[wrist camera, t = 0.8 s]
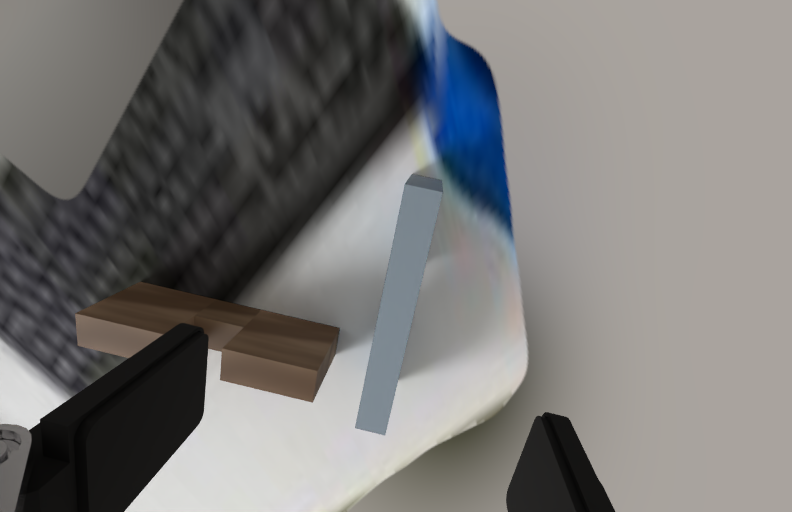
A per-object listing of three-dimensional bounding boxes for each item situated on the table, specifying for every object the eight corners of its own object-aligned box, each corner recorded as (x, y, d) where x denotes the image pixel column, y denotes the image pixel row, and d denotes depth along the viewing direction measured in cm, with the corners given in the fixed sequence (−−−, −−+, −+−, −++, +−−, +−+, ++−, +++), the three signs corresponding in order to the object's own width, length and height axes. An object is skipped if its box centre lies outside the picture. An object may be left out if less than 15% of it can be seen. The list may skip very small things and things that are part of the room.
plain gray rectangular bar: (412, 174, 31) (404, 184, 25) (441, 180, 31) (442, 192, 25) (369, 376, 38) (355, 428, 31) (394, 382, 37) (384, 435, 31)
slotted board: (140, 281, 37) (75, 313, 30) (339, 328, 36) (317, 371, 30) (140, 309, 38) (77, 345, 31) (335, 354, 37) (312, 402, 31)
